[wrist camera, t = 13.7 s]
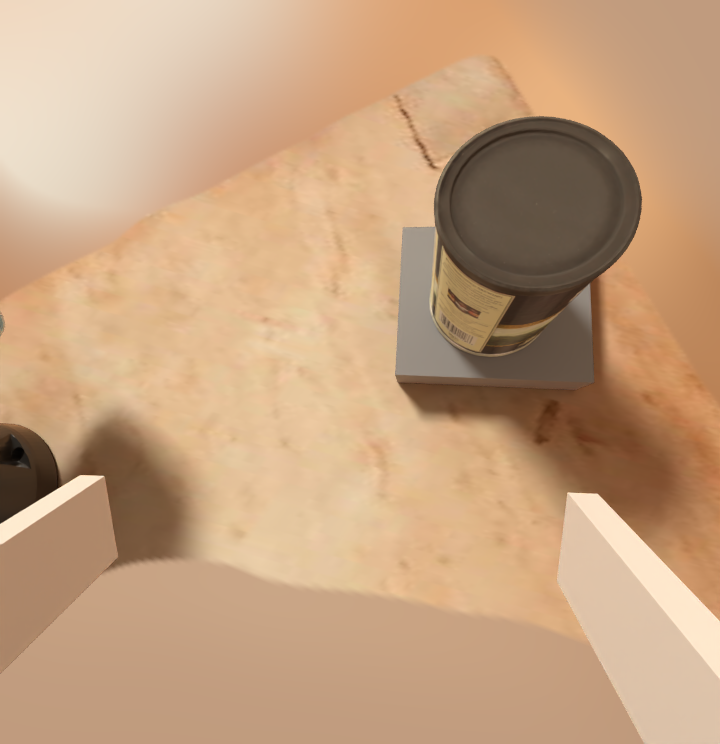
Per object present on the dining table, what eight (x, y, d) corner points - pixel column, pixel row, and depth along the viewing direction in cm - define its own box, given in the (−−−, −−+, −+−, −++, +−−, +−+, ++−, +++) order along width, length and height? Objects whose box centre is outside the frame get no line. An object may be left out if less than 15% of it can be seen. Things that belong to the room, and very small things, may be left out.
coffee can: (562, 257, 34) (659, 127, 20) (536, 370, 32) (622, 312, 19) (444, 235, 36) (460, 103, 22) (414, 340, 34) (412, 268, 21)
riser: (397, 382, 38) (395, 374, 34) (404, 248, 41) (402, 227, 37) (575, 390, 35) (594, 382, 32) (570, 247, 38) (587, 224, 34)
